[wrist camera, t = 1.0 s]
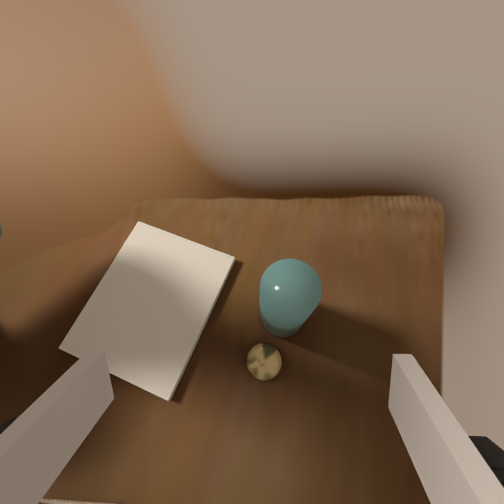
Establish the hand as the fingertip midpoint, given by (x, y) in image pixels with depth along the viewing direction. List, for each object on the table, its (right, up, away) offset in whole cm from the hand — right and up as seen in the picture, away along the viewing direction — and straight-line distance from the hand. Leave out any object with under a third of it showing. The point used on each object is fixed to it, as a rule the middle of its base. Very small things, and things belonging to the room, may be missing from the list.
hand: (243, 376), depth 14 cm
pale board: (-13, -1, +28) cm, 31 cm away
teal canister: (+4, -3, +27) cm, 28 cm away
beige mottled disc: (+2, -9, +25) cm, 27 cm away
